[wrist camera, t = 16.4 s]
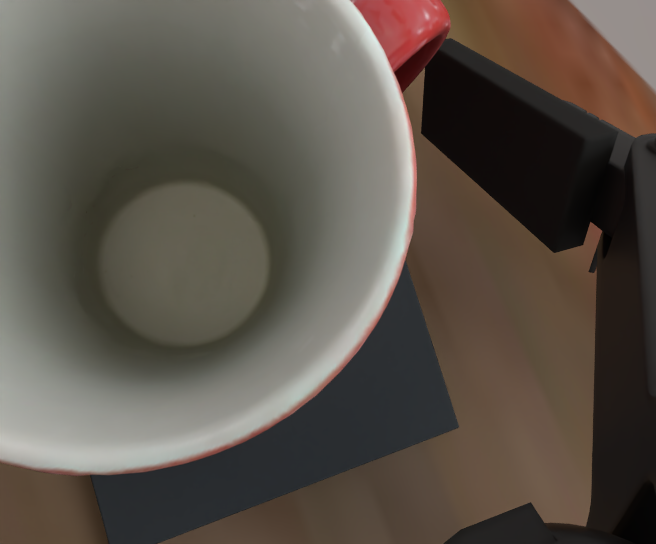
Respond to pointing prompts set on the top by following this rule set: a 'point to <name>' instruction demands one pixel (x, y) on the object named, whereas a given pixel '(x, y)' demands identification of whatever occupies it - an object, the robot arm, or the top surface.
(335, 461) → the mat
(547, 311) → the top surface
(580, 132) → the robot arm
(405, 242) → the mug
